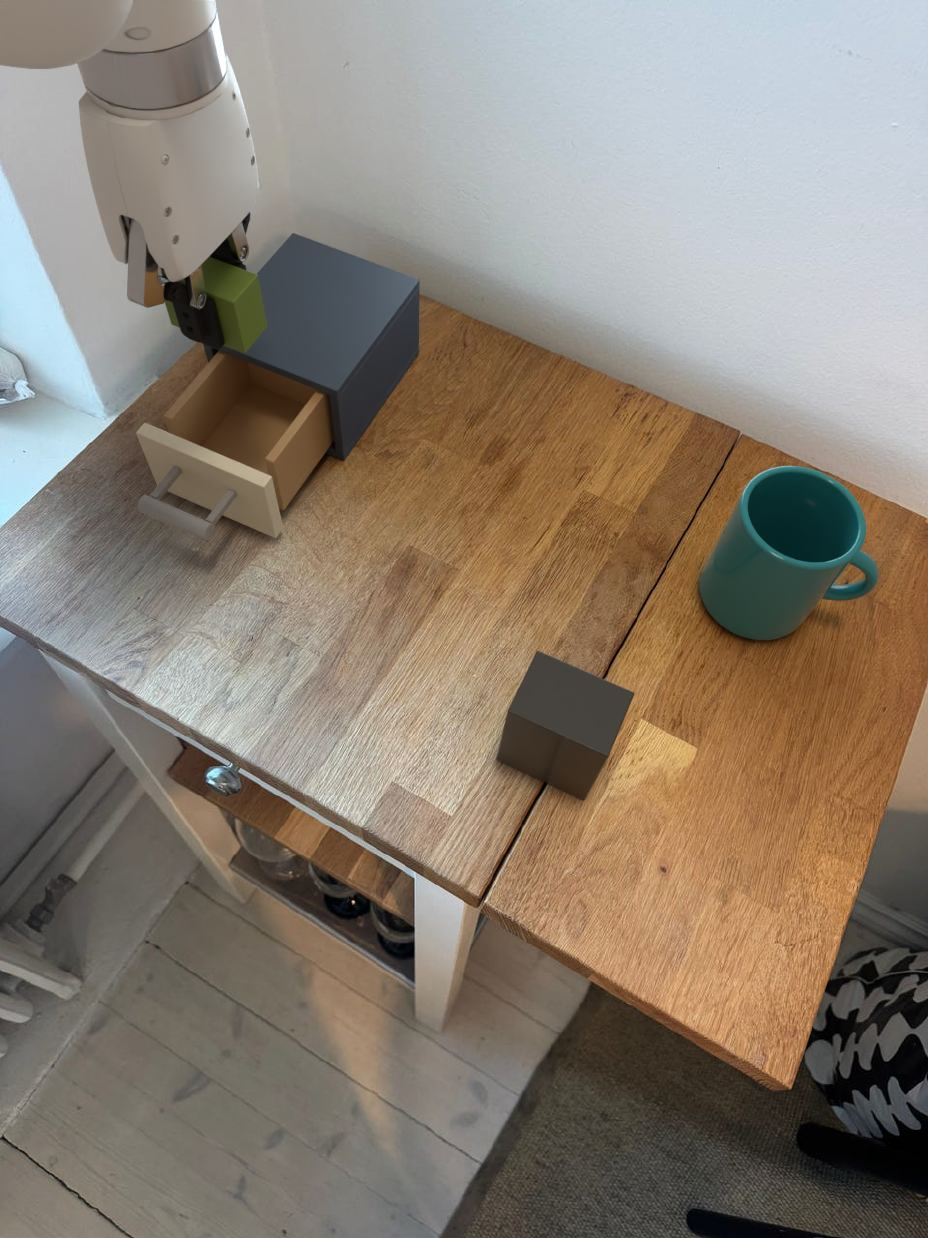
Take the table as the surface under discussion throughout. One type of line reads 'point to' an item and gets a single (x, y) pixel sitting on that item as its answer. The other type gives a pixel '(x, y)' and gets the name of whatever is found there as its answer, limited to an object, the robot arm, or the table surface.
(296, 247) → the cabinet
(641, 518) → the table surface
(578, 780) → the dark gray block
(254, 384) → the drawer
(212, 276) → the olive green block
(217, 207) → the robot arm
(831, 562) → the cup
